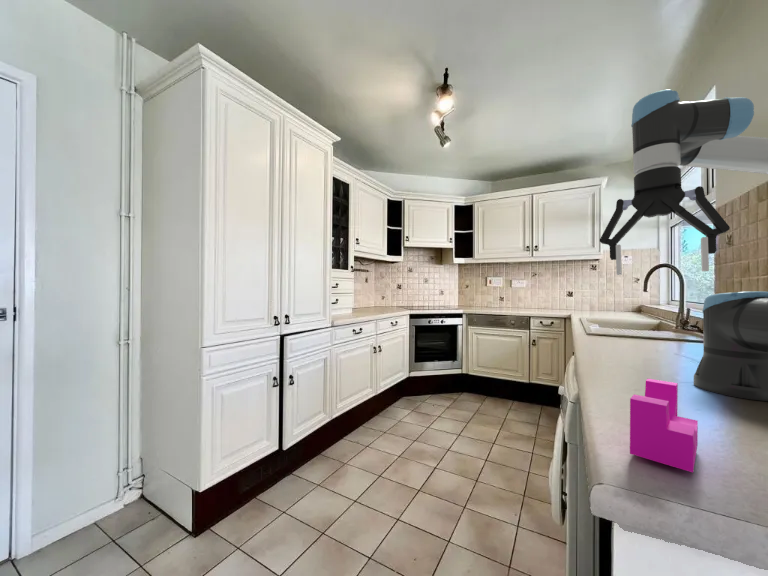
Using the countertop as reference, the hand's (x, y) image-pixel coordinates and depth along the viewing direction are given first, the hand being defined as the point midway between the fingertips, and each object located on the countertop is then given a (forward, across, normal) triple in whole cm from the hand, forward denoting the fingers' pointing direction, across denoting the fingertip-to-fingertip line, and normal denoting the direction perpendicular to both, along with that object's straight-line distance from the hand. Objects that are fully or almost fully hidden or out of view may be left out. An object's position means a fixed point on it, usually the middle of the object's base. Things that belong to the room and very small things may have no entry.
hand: (659, 273), depth 67 cm
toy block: (+26, 0, +26) cm, 37 cm away
